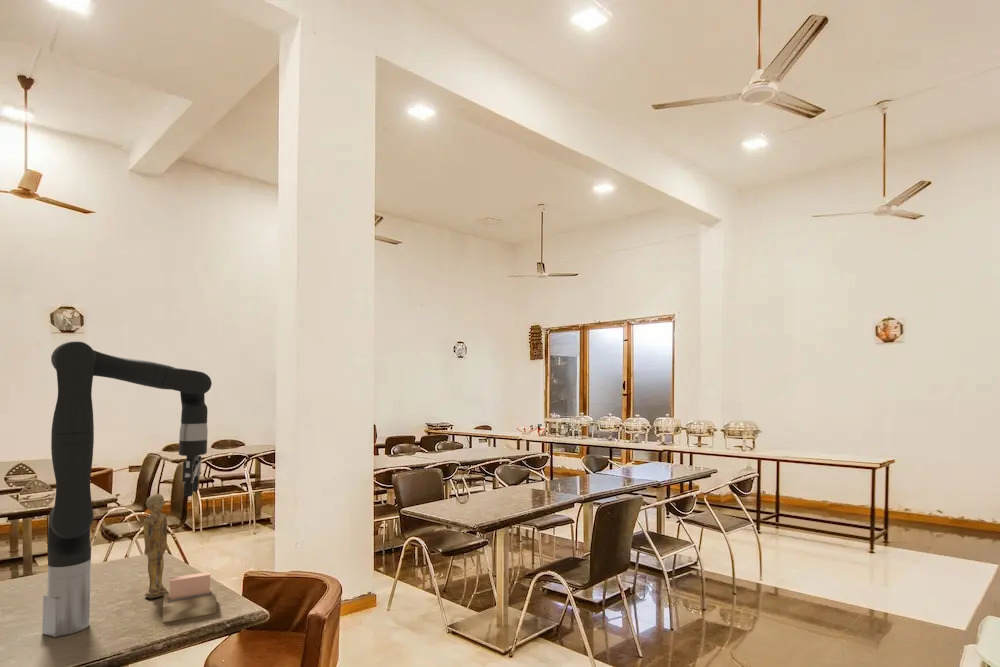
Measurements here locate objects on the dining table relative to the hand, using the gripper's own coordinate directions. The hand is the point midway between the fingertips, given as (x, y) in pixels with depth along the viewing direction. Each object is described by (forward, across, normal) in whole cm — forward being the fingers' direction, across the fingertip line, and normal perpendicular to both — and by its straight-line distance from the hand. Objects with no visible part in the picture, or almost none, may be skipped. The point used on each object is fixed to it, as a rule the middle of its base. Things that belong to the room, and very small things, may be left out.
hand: (191, 493), depth 180 cm
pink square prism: (+31, -9, -2) cm, 32 cm away
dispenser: (+31, -9, -2) cm, 32 cm away
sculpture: (+31, +7, +10) cm, 33 cm away
